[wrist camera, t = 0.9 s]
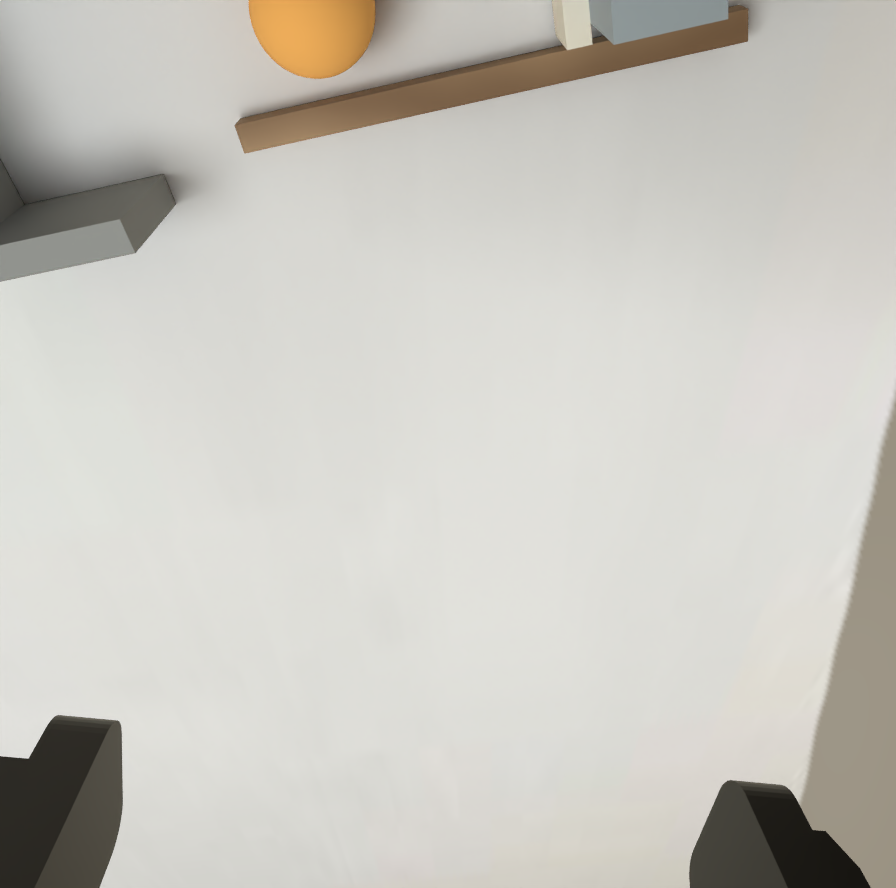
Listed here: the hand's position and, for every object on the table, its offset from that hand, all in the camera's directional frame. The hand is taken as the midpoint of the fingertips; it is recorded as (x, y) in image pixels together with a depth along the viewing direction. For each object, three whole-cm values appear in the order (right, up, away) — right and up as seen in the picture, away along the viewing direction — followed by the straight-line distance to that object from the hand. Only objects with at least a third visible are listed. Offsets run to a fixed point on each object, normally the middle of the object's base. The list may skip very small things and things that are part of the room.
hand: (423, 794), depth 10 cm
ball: (-4, +19, +15) cm, 24 cm away
